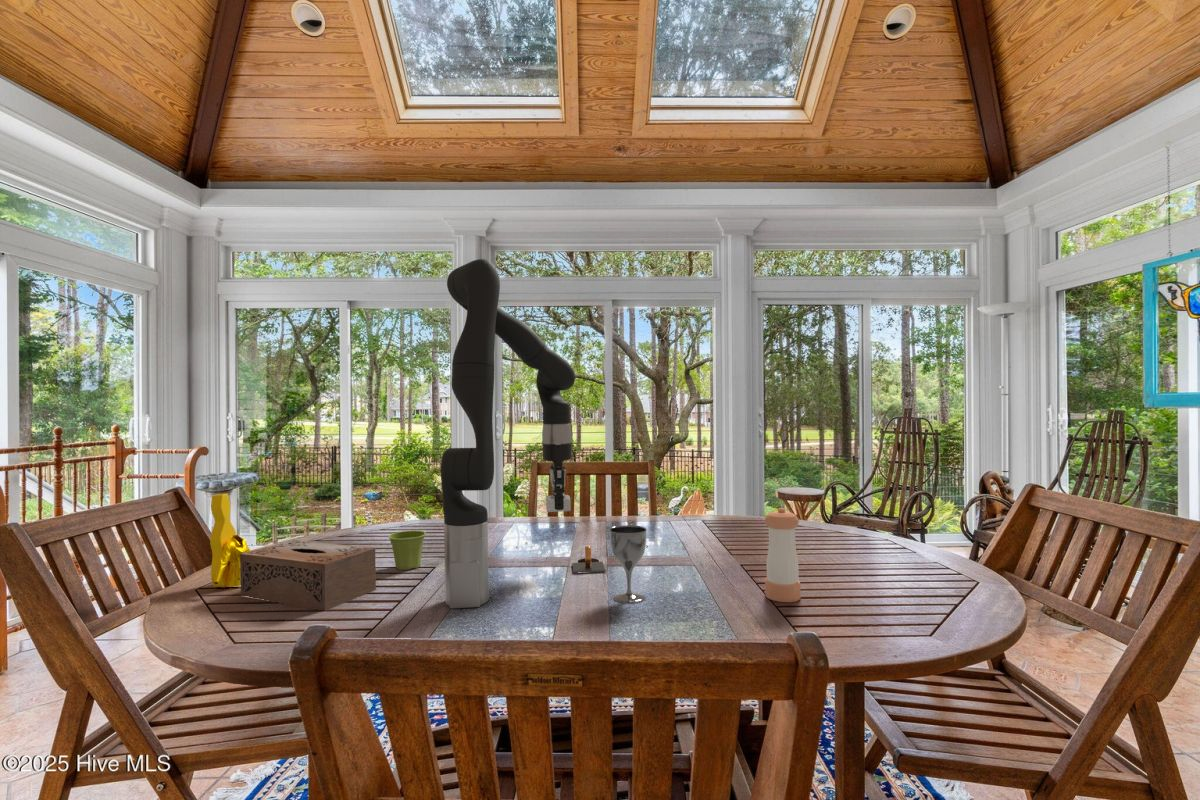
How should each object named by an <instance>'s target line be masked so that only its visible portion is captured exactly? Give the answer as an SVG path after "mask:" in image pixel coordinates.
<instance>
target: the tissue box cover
mask: <svg viewBox="0 0 1200 800" xmlns="http://www.w3.org/2000/svg"><path fill="white" fill-rule="evenodd" d="M376 566H377V565H376V548H375V547H365V546H357V545H350V544H349V545H348V544H340V543H339V544H337V543H329V542H328V543H327V542H319V541H309V540H298V539H294V540H289V541H285V542H282V543H277V544H274V545H270V546H269V545H268V546H265V547H261V548H258V549H254V550H251V551H249V552H245V553H241V554H240V579H241V587H240V596H241V595H242V596H249V597H253V598H259V599H264V600H269V601H274V602H273V603H275V602H278V603H277V604H282V603H284V604H283V605H288V604H289V605H288V606H294V605H295V607H301V608H306V609H307V608H308V609H315V610H320V611H328V610H331V609H333V608H335V607H338V606H340V605H343V604H346V603H347V602H350V601H353V600H355V599H357V597H358V598H361V597H362V596H366V595H367V593H368V594H369V593H372V592H375V591H376V590H377V583H376V582H377V580H376V578H377V576H376V575H377V573H376ZM374 590H375V591H374ZM269 601H268V602H269Z"/></svg>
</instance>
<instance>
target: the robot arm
mask: <svg viewBox="0 0 1200 800" xmlns="http://www.w3.org/2000/svg"><path fill="white" fill-rule="evenodd" d="M500 280H501V279H500V276H499V272H498V270H497V267H496V266H495V265H494V264H493V263H492V262H491V261H490V260H487V259H485V258H484V259H483V258H480V259H474V260H472V261H469V262H467V263H465V264H463V265H460V266H458V267H457V268H455V269H453V270H452V271H450V273H449V275H448V276H447V280H446V286H447V290H448V293H449V295H450V296H451V298H452V299H453V300H454V301H455V302H456V303H457V304H458V305H460V306H461V307H462V308H463V309H464V310H465V311H466V317H465V324H464V327H463V328H462V332H461V333H460V336H459V338H458V341H457V344H456V347H455V349H454V352H453V355H452V356H453V357H452V361H451V362H452V363H451V364H452V366H451V388H452V389H451V390H452V392H453V394H454V396H455V398H456V400H457V402H458V404H459V405H460V407H461V408H462V409H463V412H464V413H465V414H466V416H467V418H468V419H469V422H470V424H471V426H472V429H473V432H474V439H475V447H452V448H447V449H445V450H444V452H443V453H442V456H441V460H440V481H441V483H440V484H441V494H442V495H441V496H442V499H441V500H442V512H443V521H444V522H443V524H444V525H443V529H444V531H443V532H444V534H443V535H444V544H443V545H444V586H445V589H444V590H445V591H444V596H445V597H444V598H445V599H444V600H445V605H447V606H448V607H449V609H462V608H463V609H464V608H467V609H468V608H479V607H481V606H482V605H484V604H486V603H487V602H489V600H490V591H489V590H490V586H489V585H490V584H489V583H490V582H489V531H488V530H489V526H488V525H489V524H488V522H489V521H488V520H489V519H488V517H489V516H488V509H487V508H486V507H485V506H484V505H481V504H480V503H476V502H474V501H472V500H471V499H469V498H467V497H466V496H465V494H464V493H463V491H464V492H465V491H470V492H473V491H487V490H489V489H490V488H491V487H492V485H493V481H494V476H495V453H494V450H495V449H494V434H493V433H494V428H493V424H494V423H493V416H494V415H493V412H494V411H493V409H494V408H493V407H494V391H495V389H494V387H495V347H496V336H497V337H499V338H500V339H501V340H502V341H503V342H504V343H505V344H506V345H507V346H508V347H509V348H510V349H511V350H512V351H513V353H514V354H515V355H516V356H517V357H518V358H519V359H520V360H521V361H522V362H523V363H524V364H525V366H527V367H529V368H531V369H535V370H538V371H537V373H536V379H535V380H536V387H537V392H538V396H539V400H540V403H541V407H542V431H541V432H542V433H541V439H542V440H541V441H542V443H541V445H542V448H541V449H542V460H543V461H546V462H551V465H550V466H549V474H550V484H551V489H552V496H554V497H555V509H556V510H563V508H564V499H563V495H565V492H566V489H565V486H566V474H567V468H566V466H563V463H564V461H565V462H566V461H567V462H568V461H570V460H572V459H573V441H572V439H573V437H572V436H573V435H572V426H571V406H570V403H569V402H568V401H566V400H565V399H563V397H562V394H561V391H568V390H569V389H572V387H573V386H574V385H575V382H576V374H575V371H574V368H573V367H572V366H571V364H570V363H569V362H568V361H567V360H566V359H564V358H563V357H562V356H561V355H560V354H558V353H557V352H555V350H553V349H551V348H550V347H548V346H547V344H546V342H544V341H543V340H542V338H541V337H540V336H539V335H538V334H537V333H536V332H535V331H534V330H533V329H532V328H531V326H529V325H527V324H526V322H523V321H522V320H520V319H519V318H517V317H515V316H513V315H511V314H509V312H506V311H505V310H504V309H503V308H501V307H500V306H499V300H500V299H499V298H500V290H501V288H500V287H501V281H500Z"/></svg>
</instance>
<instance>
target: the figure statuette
mask: <svg viewBox="0 0 1200 800" xmlns="http://www.w3.org/2000/svg"><path fill="white" fill-rule="evenodd" d="M210 509H211V510H210V511H211V513H212V517H213V520H214V521H213V522H214V523H213V526H212V529H211V533H210V537H209V542H210V543H209V544H210V549H211V551H212V552H211V553H212V559H211V560H212V561H211V566H210V575H211V584H212V586H213V588H214V587H221V588H226V587H225V586H227V587H234V586H238V585H241V579H240V554H241V553H245V552H249V551H252V550H251V549H250V547H249V546H248V544H247V540H246V538H243V537H242V536H241V535H240V534H237V532H236V529H235V527H234V526H233V524H232V522H231V520H230V516H231V515H230V513H231V501H230V497H229V495H228V493H218V494H215V495H212V496H211V502H210Z"/></svg>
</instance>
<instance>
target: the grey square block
mask: <svg viewBox="0 0 1200 800" xmlns="http://www.w3.org/2000/svg"><path fill="white" fill-rule="evenodd" d="M563 499H564V508H563V510H556V509H555V497H554V496H553V495H545V510H546V513H552V512H553V513H558V512H571V511H572V507H571V497H570V495H569V494H564V495H563Z"/></svg>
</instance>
